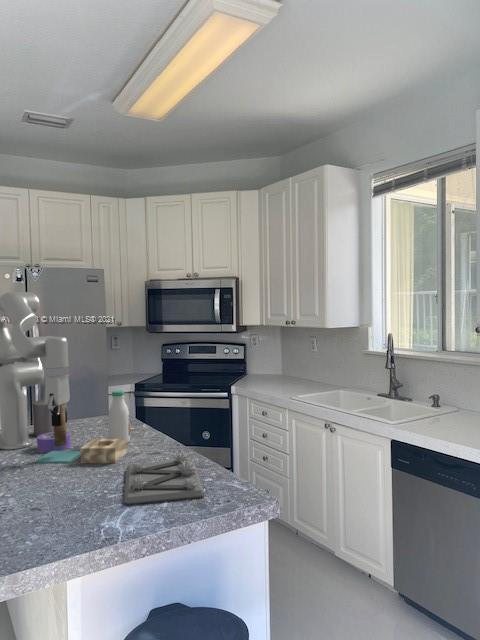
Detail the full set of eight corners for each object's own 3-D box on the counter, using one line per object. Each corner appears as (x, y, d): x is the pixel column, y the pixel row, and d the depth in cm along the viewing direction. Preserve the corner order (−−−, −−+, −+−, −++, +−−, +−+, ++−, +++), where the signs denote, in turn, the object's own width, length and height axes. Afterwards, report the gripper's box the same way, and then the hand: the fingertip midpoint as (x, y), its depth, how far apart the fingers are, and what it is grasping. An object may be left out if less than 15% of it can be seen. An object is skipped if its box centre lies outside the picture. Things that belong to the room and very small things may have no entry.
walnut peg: (52, 446, 173) (50, 405, 173) (57, 442, 177) (55, 403, 177) (63, 445, 173) (61, 405, 173) (68, 442, 177) (66, 403, 177)
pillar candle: (35, 432, 212) (33, 397, 212) (59, 430, 215) (57, 395, 215) (32, 438, 203) (31, 401, 203) (58, 435, 206) (56, 399, 205)
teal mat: (35, 462, 170) (35, 461, 170) (51, 452, 182) (51, 450, 182) (69, 462, 169) (69, 461, 169) (83, 452, 181) (83, 450, 181)
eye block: (81, 462, 169) (80, 448, 168) (94, 452, 180) (94, 438, 180) (115, 463, 167) (115, 448, 167) (126, 452, 179) (126, 438, 179)
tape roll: (30, 452, 183) (30, 438, 183) (48, 443, 195) (48, 430, 195) (60, 453, 181) (59, 439, 181) (76, 444, 193) (76, 431, 193)
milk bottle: (127, 445, 189) (125, 392, 188) (106, 445, 189) (105, 393, 189) (132, 439, 197) (130, 389, 196) (112, 440, 197) (110, 389, 196)
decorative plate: (126, 471, 160) (126, 449, 160) (193, 465, 165) (193, 444, 164) (124, 508, 131) (123, 481, 131) (205, 499, 135) (204, 473, 135)
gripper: (57, 369, 183) (60, 419, 184) (35, 375, 167) (37, 430, 167) (77, 369, 182) (79, 418, 183) (56, 375, 166) (59, 430, 166)
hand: (59, 423), depth 175 cm, fingers closed on walnut peg, 4 cm apart
